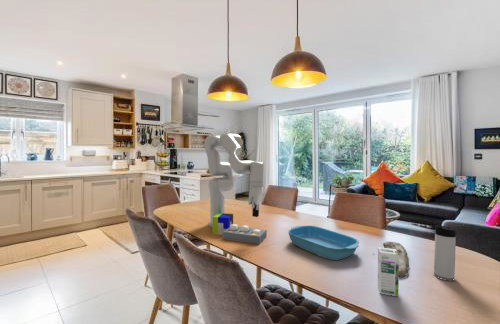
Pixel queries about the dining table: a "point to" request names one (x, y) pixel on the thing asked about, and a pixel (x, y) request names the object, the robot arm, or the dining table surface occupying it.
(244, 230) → the middle button
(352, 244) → the casserole dish
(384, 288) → the syrup box
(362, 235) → the dining table surface
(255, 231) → the button
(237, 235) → the button board
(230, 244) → the dining table surface
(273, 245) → the dining table surface
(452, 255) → the travel mug
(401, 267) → the long grey stone
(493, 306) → the dining table surface
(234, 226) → the button
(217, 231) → the puzzle toy
